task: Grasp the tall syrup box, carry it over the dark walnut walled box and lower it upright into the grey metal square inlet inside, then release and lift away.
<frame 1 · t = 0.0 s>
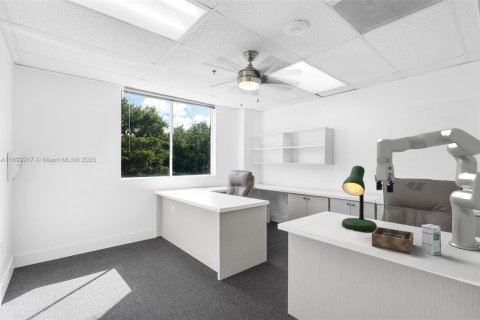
hand: (384, 191, 132), 31 cm above the table, tool pointing down, fingers open, 9 cm apart
syrup box: (431, 253, 122), on the table
desk lamp: (357, 228, 166), on the table
walled box: (392, 245, 133), on the table
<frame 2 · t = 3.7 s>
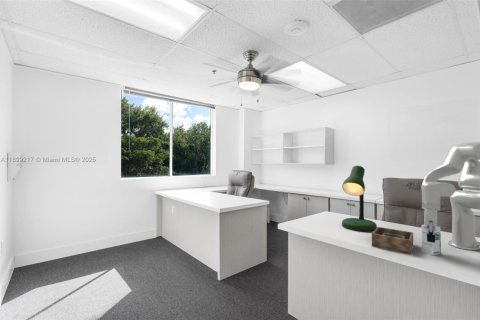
hand: (431, 239, 122), 7 cm above the table, tool pointing down, fingers closed on syrup box, 7 cm apart
syrup box: (431, 253, 122), on the table, touching gripper
everything else where it was.
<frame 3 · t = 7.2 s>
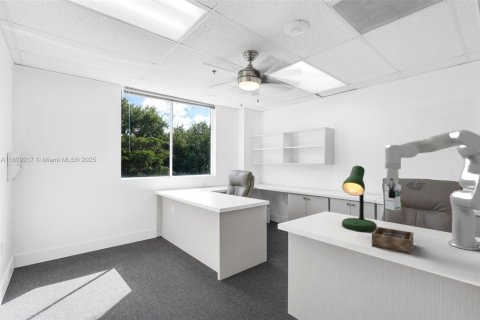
hand: (393, 197, 133), 28 cm above the table, tool pointing down, fingers closed on syrup box, 7 cm apart
syrup box: (393, 209, 133), point 21 cm above the table, touching gripper
everything else where it was.
when the fingers open (9 cm above the table, at t = 10.7 s): syrup box drops 1 cm, resting on walled box.
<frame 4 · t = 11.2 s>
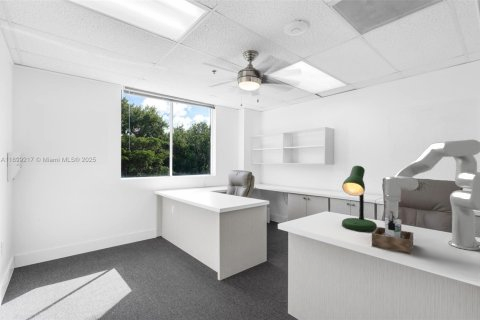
hand: (392, 228, 133), 10 cm above the table, tool pointing down, fingers open, 9 cm apart
syrup box: (393, 244, 133), point 1 cm above the table, touching walled box
everything else where it was.
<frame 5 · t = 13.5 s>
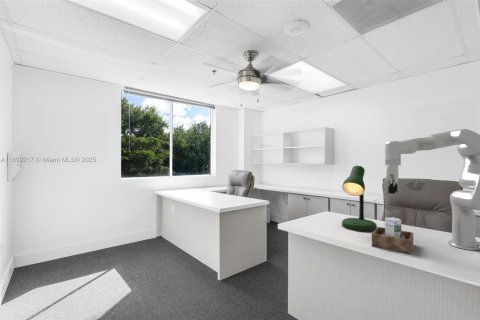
hand: (392, 192, 133), 30 cm above the table, tool pointing down, fingers open, 9 cm apart
nothing on the table moved.
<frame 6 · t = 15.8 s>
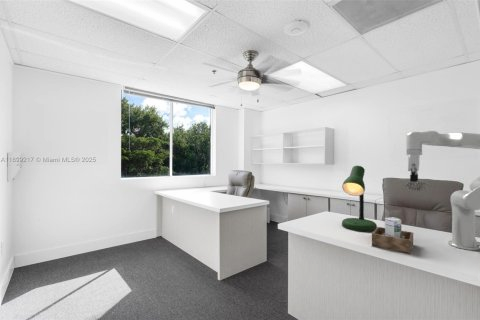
hand: (414, 181, 140), 36 cm above the table, tool pointing down, fingers open, 9 cm apart
nothing on the table moved.
at the end: syrup box 0.2 cm off-centre on the walled box, point 0.8 cm above the walled box's base; syrup box tilted 0°; the gripper is holding nothing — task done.
